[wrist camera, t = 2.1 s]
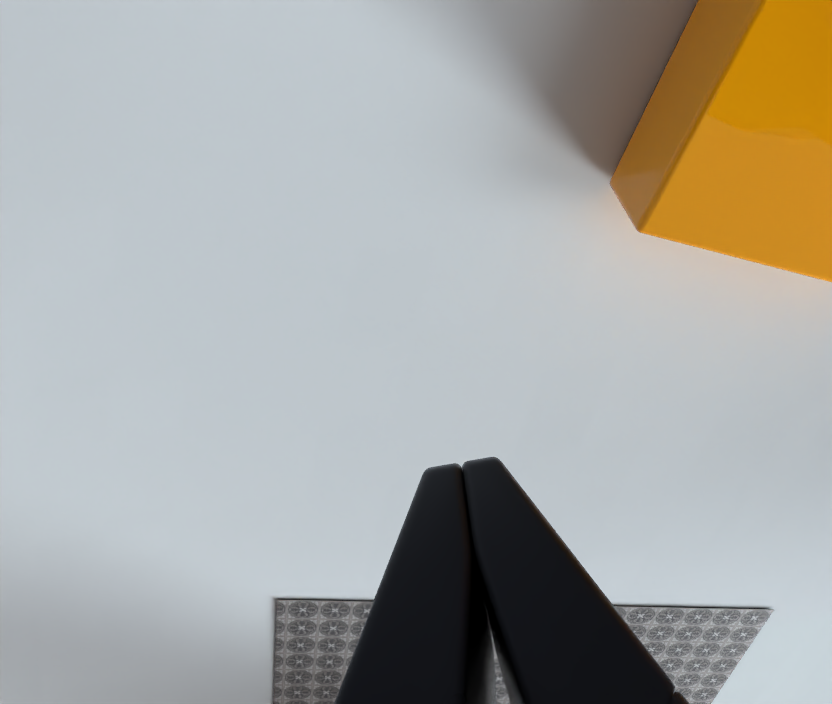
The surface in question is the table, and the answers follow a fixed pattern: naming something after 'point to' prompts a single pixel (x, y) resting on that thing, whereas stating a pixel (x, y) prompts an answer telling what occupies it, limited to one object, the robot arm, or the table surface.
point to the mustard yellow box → (740, 137)
